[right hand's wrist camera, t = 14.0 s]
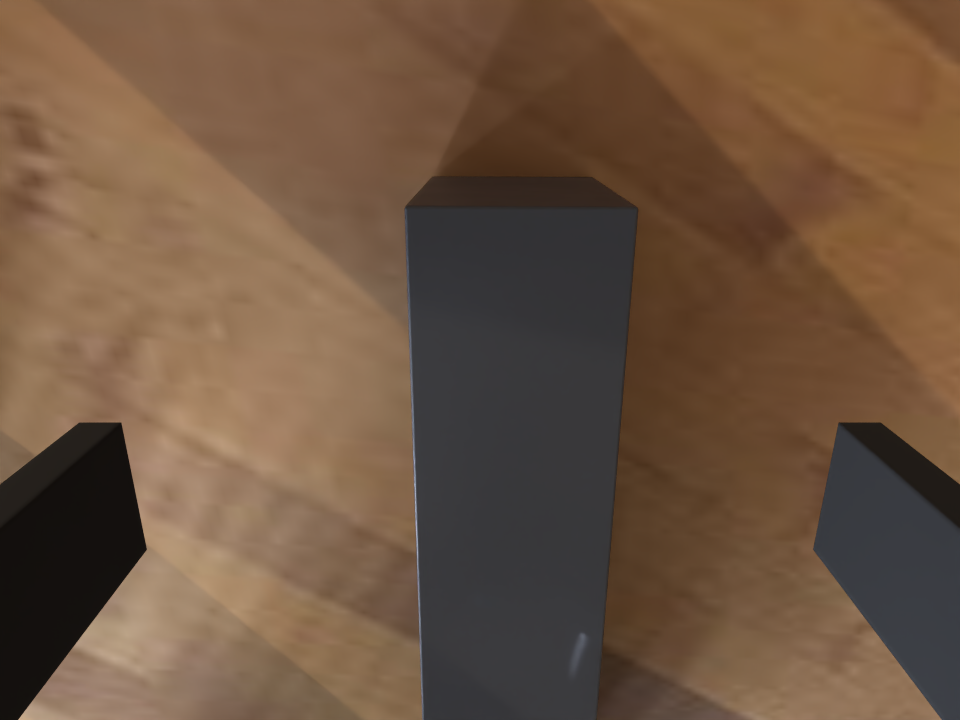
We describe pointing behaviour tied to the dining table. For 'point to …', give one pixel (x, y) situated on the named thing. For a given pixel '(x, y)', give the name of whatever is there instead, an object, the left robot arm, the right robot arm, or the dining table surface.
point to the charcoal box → (515, 437)
